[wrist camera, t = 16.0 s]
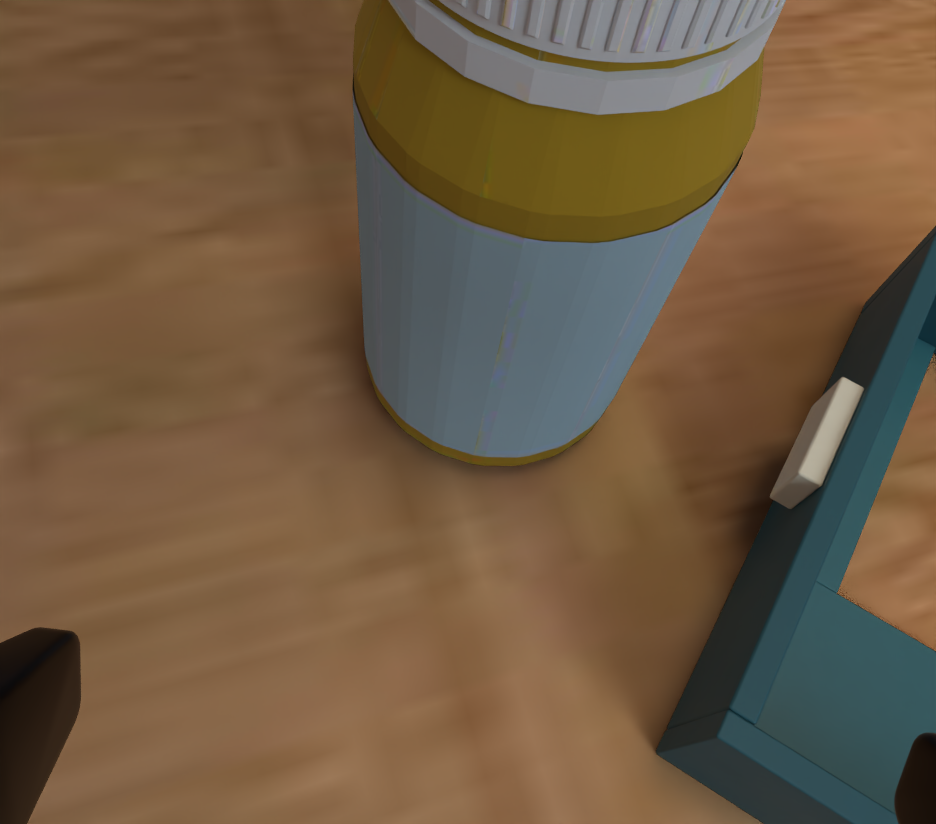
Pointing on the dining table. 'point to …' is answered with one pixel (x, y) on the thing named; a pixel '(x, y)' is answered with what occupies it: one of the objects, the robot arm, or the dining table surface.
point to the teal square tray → (821, 604)
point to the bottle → (535, 199)
